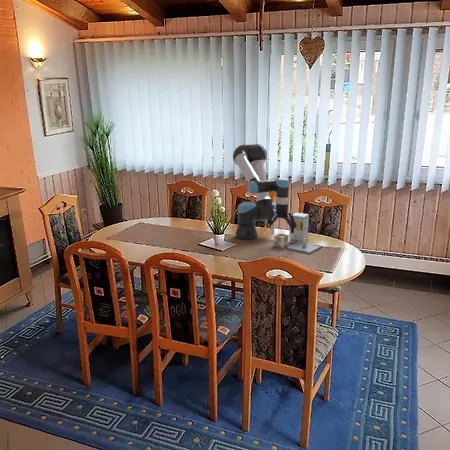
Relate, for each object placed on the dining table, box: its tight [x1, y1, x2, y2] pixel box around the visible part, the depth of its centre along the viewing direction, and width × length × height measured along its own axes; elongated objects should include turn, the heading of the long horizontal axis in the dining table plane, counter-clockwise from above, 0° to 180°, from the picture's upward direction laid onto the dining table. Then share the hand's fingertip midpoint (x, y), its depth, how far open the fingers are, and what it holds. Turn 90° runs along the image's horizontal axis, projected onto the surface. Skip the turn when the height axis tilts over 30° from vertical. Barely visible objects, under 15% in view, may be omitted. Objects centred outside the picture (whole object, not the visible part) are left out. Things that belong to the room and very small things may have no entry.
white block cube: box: [272, 232, 290, 249], centre depth 294 cm, size 7×7×7 cm
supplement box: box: [289, 212, 310, 242], centre depth 307 cm, size 10×9×17 cm
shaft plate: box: [286, 238, 323, 255], centre depth 289 cm, size 16×17×6 cm
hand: (281, 236), depth 293 cm, fingers open, 13 cm apart
